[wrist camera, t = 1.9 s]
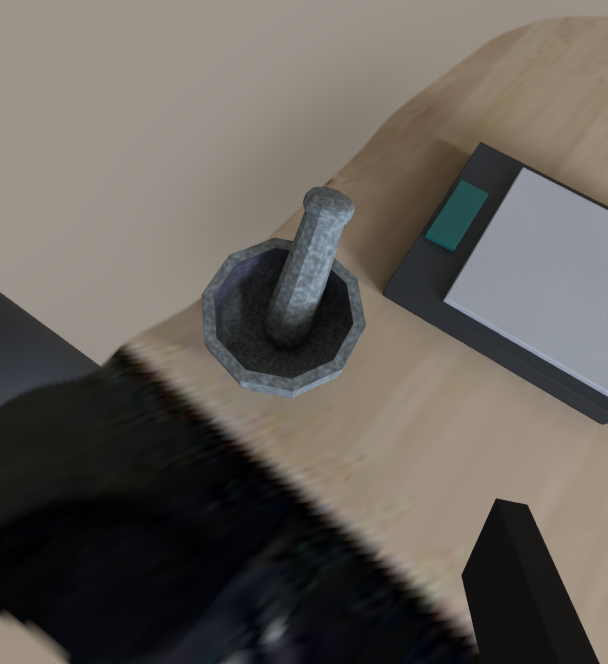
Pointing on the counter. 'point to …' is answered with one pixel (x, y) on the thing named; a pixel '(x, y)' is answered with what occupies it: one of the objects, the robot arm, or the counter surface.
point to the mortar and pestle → (287, 305)
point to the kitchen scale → (517, 277)
